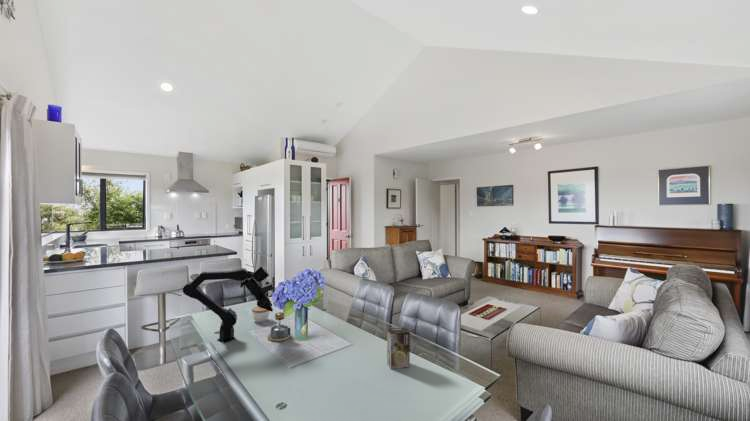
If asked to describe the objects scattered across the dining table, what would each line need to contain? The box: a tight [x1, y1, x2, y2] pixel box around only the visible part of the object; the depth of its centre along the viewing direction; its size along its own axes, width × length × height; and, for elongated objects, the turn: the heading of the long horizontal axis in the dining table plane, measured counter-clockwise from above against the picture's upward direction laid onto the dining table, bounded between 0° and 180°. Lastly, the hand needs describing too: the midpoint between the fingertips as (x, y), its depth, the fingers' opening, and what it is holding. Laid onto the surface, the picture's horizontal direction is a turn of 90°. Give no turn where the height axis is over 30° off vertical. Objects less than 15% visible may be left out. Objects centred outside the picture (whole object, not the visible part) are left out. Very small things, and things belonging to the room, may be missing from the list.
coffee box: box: [386, 327, 411, 370], centre depth 147 cm, size 9×6×16 cm
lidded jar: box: [251, 306, 271, 323], centre depth 200 cm, size 11×11×9 cm
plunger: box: [273, 311, 286, 331], centre depth 176 cm, size 7×7×9 cm
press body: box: [267, 324, 292, 343], centre depth 176 cm, size 12×12×5 cm
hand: (272, 308), depth 179 cm, fingers open, 9 cm apart
